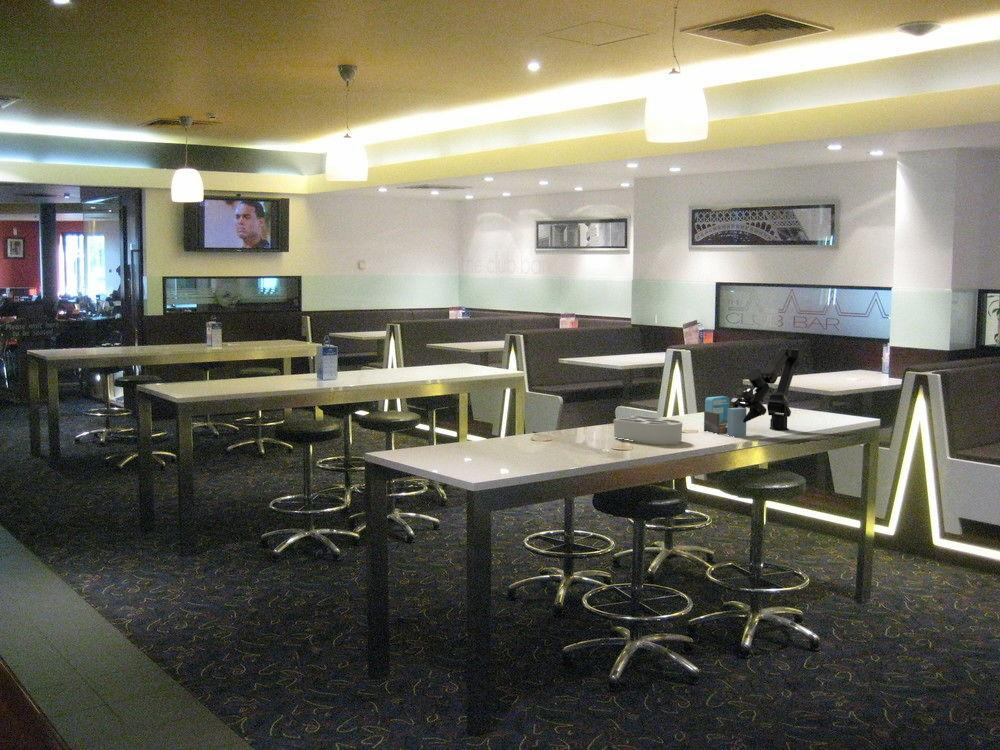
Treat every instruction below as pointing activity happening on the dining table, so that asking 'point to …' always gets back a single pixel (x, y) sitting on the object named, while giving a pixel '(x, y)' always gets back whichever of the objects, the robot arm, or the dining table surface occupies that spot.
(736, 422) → the blue angular block
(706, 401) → the data package
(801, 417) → the dining table surface
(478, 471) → the dining table surface
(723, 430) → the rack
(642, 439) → the ice cube tray
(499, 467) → the dining table surface
